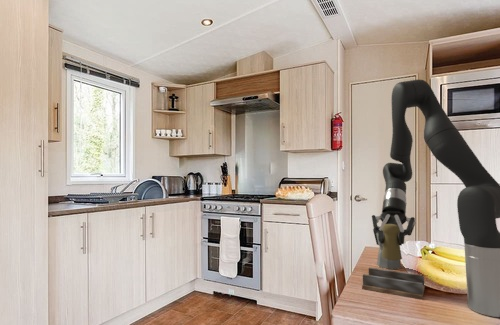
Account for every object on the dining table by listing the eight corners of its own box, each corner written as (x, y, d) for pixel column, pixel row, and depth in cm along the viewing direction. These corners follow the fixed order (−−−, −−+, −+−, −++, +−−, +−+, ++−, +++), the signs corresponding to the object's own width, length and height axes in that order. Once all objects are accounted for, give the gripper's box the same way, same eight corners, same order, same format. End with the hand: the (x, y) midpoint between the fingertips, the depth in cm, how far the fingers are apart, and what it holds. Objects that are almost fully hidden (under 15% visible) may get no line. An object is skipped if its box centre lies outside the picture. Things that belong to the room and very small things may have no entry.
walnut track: (424, 286, 98) (424, 274, 99) (422, 299, 87) (421, 285, 88) (370, 278, 108) (370, 266, 108) (362, 288, 97) (361, 276, 97)
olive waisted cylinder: (404, 260, 95) (403, 225, 95) (384, 259, 96) (383, 225, 97) (398, 255, 101) (397, 223, 101) (379, 254, 102) (379, 222, 103)
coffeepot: (410, 270, 117) (408, 223, 118) (390, 271, 115) (388, 224, 116) (384, 260, 132) (382, 219, 133) (365, 261, 130) (364, 220, 131)
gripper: (371, 196, 110) (365, 234, 99) (416, 197, 102) (414, 238, 91) (375, 209, 114) (369, 247, 103) (417, 211, 106) (416, 252, 95)
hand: (390, 242), depth 97 cm, fingers closed on olive waisted cylinder, 5 cm apart
